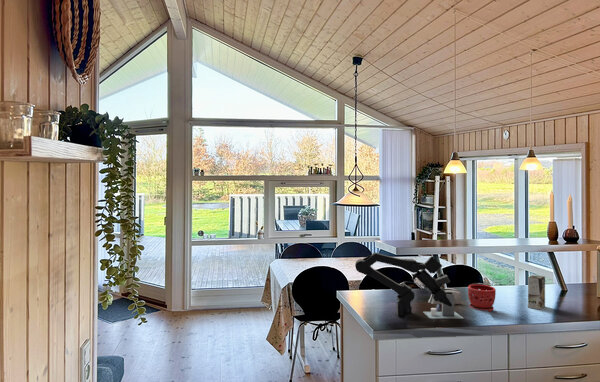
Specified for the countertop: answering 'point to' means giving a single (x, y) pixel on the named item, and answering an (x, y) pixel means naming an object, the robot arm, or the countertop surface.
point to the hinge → (456, 292)
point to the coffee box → (536, 292)
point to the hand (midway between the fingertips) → (451, 304)
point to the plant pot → (481, 297)
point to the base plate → (440, 314)
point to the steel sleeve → (447, 309)
